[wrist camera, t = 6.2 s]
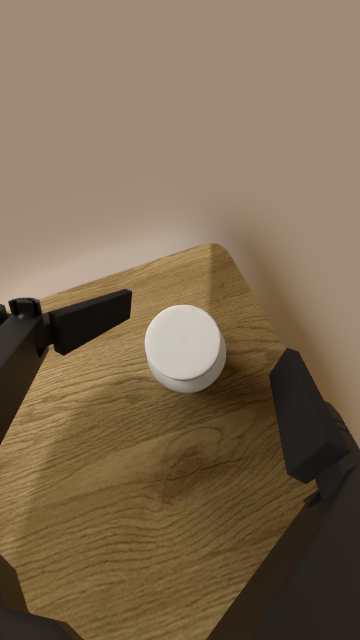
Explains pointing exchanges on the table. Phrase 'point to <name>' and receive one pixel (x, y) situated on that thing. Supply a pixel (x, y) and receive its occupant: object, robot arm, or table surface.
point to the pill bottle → (185, 349)
